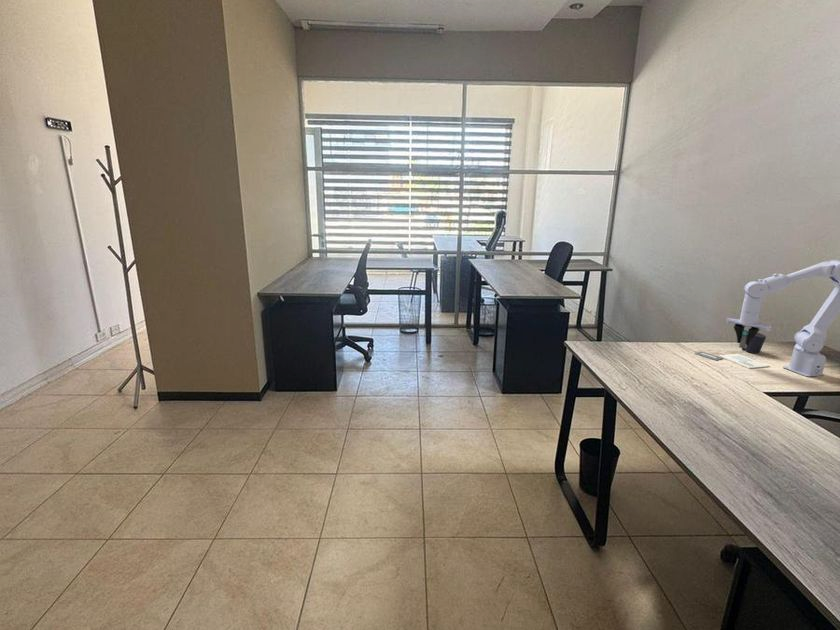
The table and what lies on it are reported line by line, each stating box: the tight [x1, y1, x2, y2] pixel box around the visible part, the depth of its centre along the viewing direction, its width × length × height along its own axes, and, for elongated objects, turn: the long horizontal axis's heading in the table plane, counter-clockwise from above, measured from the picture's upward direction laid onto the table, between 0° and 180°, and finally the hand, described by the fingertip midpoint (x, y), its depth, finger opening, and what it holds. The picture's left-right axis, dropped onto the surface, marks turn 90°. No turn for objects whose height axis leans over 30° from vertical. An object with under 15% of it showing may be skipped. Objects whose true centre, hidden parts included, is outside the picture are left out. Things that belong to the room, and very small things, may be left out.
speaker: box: [741, 332, 767, 355], centre depth 185 cm, size 8×6×10 cm
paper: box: [718, 353, 770, 370], centre depth 175 cm, size 14×10×1 cm
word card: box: [694, 351, 724, 361], centre depth 181 cm, size 9×5×1 cm, turn 26°
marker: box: [738, 329, 749, 349], centre depth 170 cm, size 3×3×7 cm
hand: (743, 343), depth 171 cm, fingers closed on marker, 2 cm apart
